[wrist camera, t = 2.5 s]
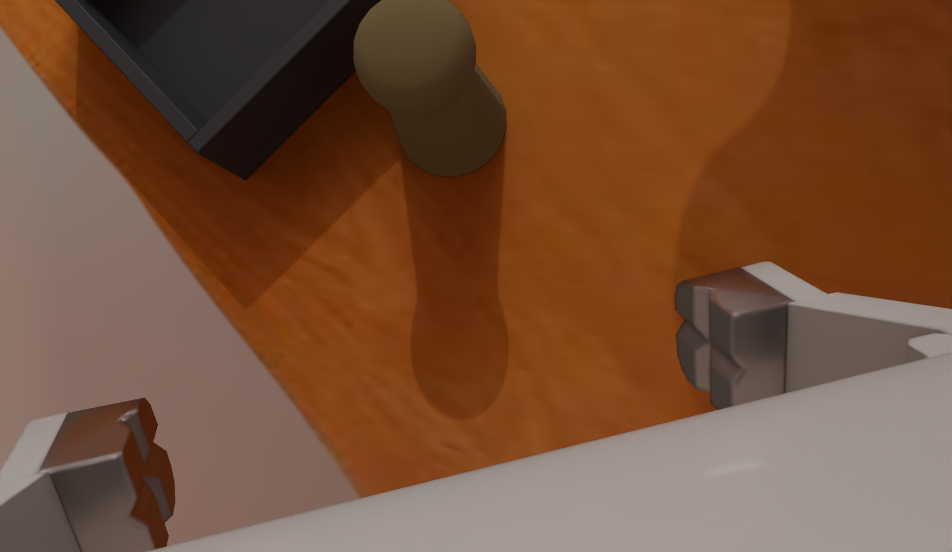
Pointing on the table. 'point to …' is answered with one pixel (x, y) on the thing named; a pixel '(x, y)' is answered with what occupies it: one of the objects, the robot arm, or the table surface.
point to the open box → (228, 65)
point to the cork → (430, 84)
